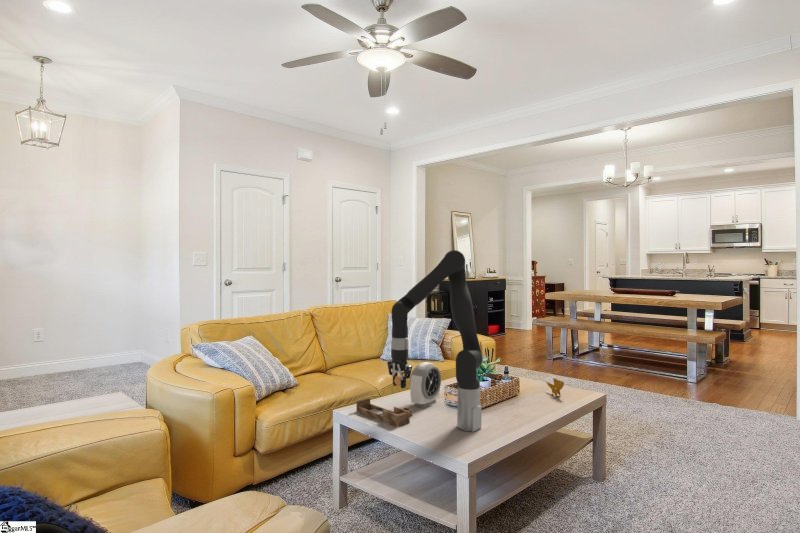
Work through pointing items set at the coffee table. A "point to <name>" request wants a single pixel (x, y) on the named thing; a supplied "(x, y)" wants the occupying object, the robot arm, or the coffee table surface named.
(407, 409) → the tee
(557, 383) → the toy
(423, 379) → the alarm clock
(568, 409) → the coffee table surface
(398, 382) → the ball
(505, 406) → the coffee table surface
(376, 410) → the lane
